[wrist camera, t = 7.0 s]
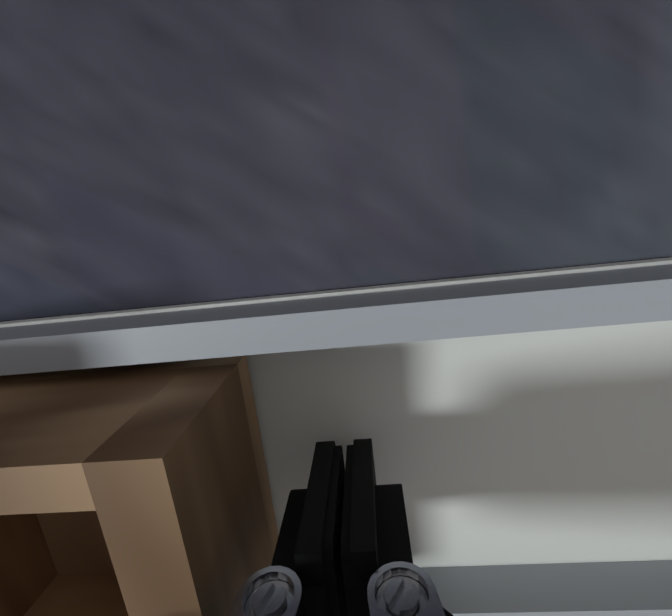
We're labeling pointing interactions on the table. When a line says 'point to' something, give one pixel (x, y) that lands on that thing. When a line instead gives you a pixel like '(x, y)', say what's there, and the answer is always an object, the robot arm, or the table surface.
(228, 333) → the track
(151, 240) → the table surface
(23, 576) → the brown wooden open box
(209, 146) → the table surface
